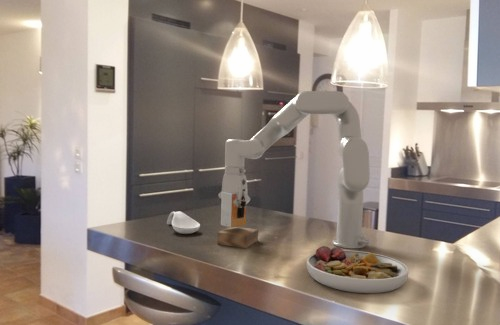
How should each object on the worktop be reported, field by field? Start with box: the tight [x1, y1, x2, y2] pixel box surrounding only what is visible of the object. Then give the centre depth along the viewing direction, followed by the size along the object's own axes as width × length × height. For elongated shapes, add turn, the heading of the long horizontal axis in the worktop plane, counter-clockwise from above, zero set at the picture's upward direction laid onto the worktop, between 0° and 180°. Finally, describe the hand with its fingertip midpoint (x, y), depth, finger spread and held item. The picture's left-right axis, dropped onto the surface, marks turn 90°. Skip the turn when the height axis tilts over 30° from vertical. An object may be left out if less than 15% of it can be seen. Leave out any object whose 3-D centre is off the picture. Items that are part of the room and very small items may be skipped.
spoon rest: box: [166, 210, 201, 235], centre depth 201 cm, size 24×12×7 cm, turn 30°
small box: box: [220, 192, 247, 228], centre depth 183 cm, size 8×6×13 cm
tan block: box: [217, 226, 259, 249], centre depth 182 cm, size 12×12×5 cm
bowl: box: [306, 245, 410, 294], centre depth 142 cm, size 30×30×8 cm
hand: (233, 215), depth 183 cm, fingers closed on small box, 6 cm apart
